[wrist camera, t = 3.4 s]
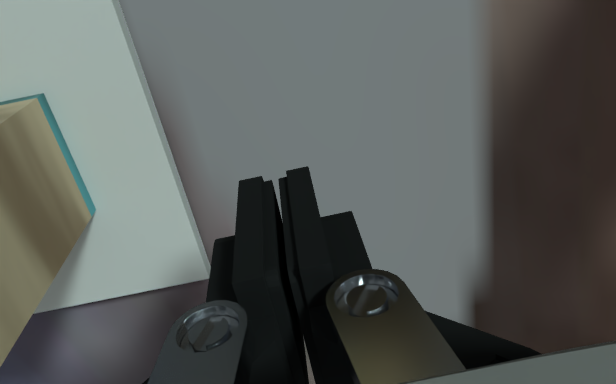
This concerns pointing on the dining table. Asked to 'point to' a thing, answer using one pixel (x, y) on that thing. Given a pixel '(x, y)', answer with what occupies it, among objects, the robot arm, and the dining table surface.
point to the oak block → (34, 210)
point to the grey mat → (104, 148)
